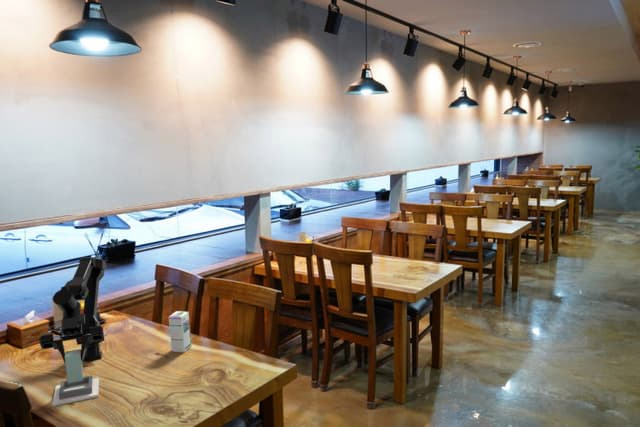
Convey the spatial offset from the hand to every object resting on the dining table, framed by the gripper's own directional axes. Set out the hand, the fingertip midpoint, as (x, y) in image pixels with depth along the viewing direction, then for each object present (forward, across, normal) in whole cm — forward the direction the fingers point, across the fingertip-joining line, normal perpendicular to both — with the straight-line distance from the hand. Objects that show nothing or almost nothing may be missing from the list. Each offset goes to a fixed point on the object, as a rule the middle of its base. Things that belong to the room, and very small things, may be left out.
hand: (73, 361), depth 159 cm
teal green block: (+4, 0, +6) cm, 7 cm away
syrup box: (-7, +36, +23) cm, 43 cm away
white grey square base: (+7, 0, +9) cm, 11 cm away
